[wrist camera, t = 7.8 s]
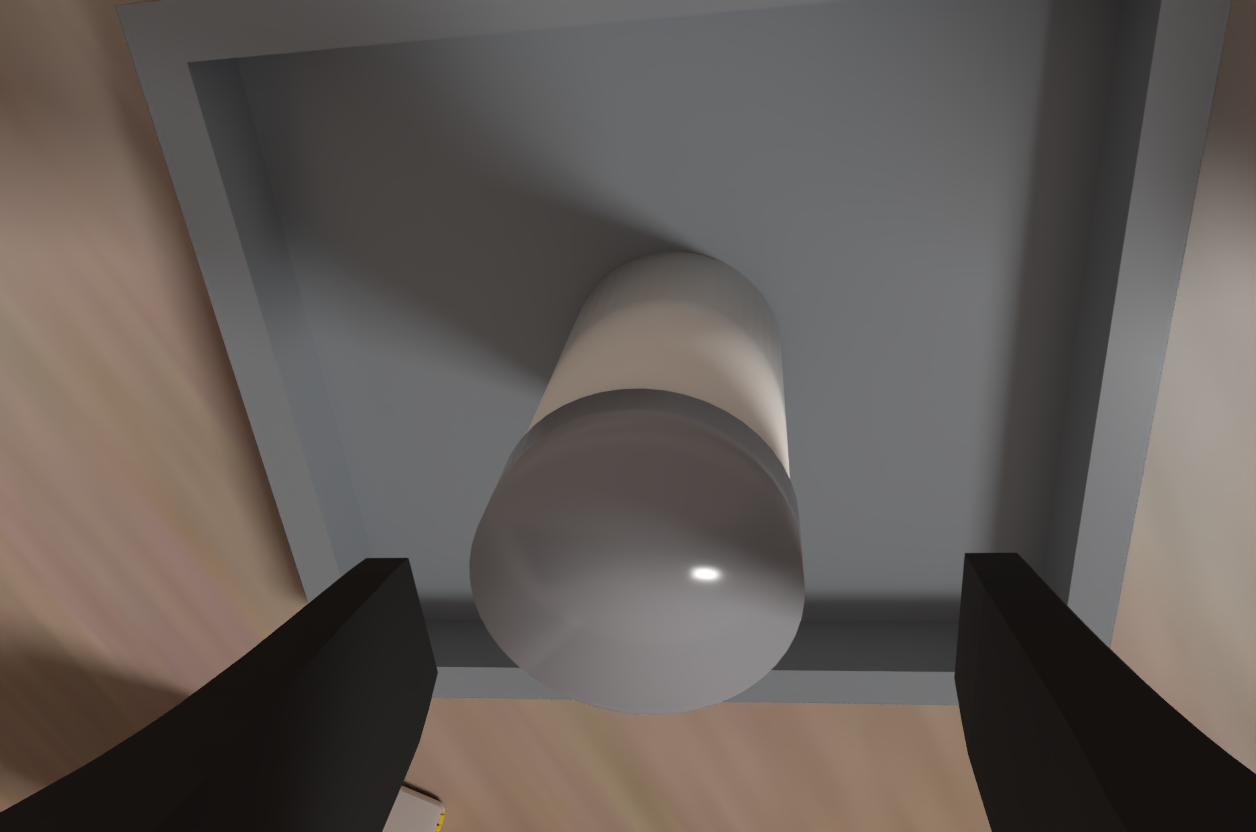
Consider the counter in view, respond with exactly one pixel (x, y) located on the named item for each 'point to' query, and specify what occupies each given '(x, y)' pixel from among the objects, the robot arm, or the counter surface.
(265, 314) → the tray
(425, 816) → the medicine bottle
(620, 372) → the shaker
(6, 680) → the counter surface
